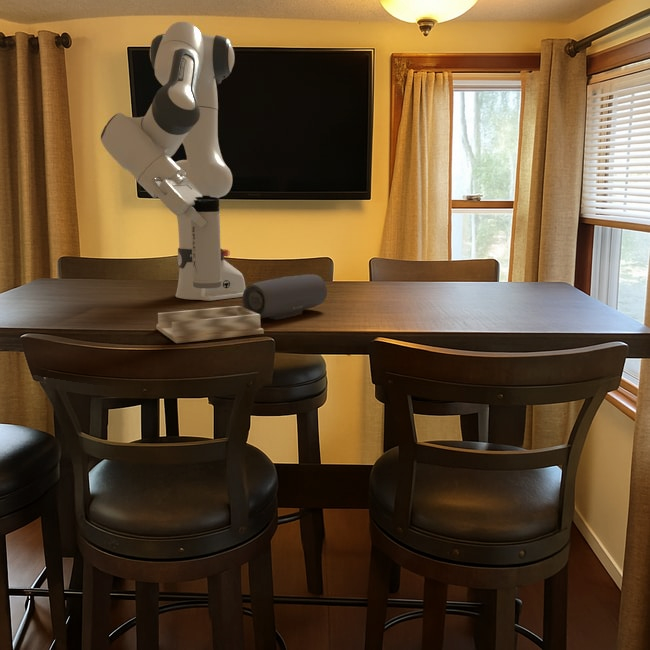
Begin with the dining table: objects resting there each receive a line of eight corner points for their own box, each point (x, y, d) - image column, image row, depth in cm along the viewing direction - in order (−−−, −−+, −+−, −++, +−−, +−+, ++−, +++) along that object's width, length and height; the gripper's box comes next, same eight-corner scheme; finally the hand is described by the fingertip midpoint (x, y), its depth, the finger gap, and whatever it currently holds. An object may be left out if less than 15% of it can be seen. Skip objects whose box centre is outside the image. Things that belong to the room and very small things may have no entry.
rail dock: (237, 320, 168) (237, 304, 167) (263, 333, 154) (263, 316, 154) (156, 328, 159) (155, 311, 158) (176, 343, 145) (175, 324, 144)
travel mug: (222, 284, 158) (220, 195, 154) (220, 288, 152) (218, 196, 147) (195, 284, 158) (192, 195, 153) (191, 288, 151) (188, 196, 147)
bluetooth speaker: (301, 307, 186) (301, 270, 184) (328, 311, 180) (328, 273, 178) (240, 320, 168) (239, 280, 166) (268, 325, 163) (267, 284, 161)
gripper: (159, 167, 139) (208, 216, 141) (183, 168, 159) (226, 211, 161) (138, 189, 140) (188, 238, 142) (164, 187, 160) (207, 230, 162)
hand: (208, 224), depth 152 cm, fingers closed on travel mug, 6 cm apart
